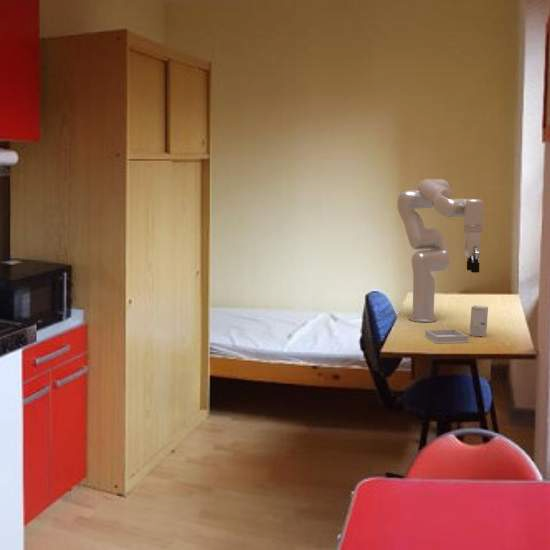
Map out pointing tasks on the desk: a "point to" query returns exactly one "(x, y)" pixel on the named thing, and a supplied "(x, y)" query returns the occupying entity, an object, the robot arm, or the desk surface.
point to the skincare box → (478, 321)
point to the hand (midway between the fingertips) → (472, 271)
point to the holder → (446, 336)
